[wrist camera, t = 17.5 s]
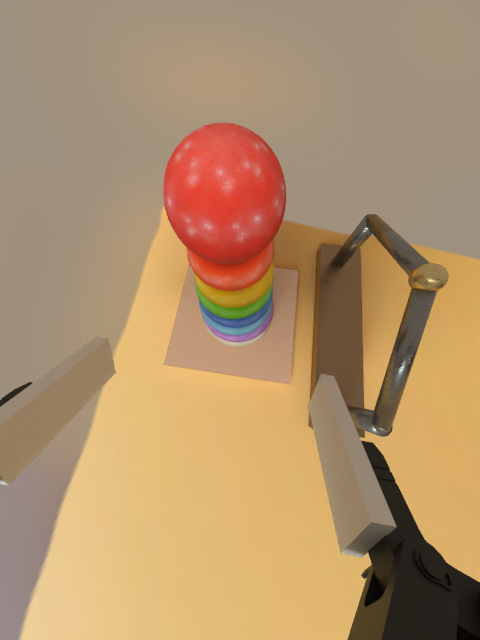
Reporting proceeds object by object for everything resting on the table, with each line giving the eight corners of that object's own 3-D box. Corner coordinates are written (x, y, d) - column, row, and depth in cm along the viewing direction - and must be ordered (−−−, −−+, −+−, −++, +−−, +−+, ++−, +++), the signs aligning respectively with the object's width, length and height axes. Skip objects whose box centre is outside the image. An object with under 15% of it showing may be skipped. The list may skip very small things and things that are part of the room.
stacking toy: (219, 276, 26) (174, 40, 8) (279, 297, 25) (378, 87, 7) (193, 333, 24) (52, 186, 6) (258, 358, 23) (324, 274, 5)
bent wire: (356, 434, 22) (539, 514, 8) (308, 426, 22) (414, 493, 9) (354, 255, 28) (456, 141, 15) (317, 250, 28) (385, 133, 15)
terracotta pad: (296, 274, 27) (298, 270, 26) (288, 384, 23) (290, 384, 22) (192, 260, 28) (191, 256, 27) (166, 365, 24) (163, 364, 23)
